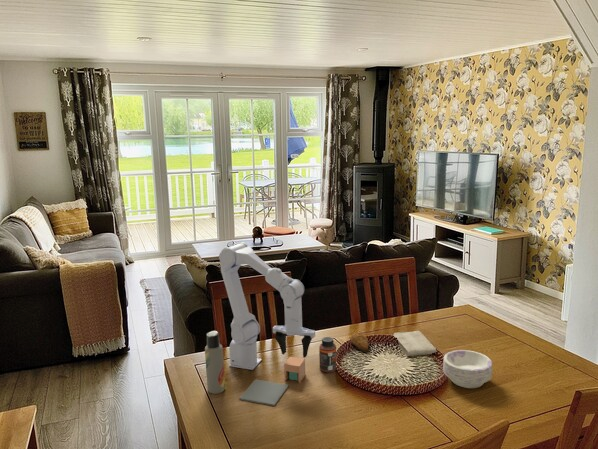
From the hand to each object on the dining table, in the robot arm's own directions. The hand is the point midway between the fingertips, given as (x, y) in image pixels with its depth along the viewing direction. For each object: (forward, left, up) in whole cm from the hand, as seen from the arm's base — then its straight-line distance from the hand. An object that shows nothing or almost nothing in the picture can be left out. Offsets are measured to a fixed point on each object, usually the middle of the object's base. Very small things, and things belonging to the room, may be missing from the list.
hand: (294, 354), depth 164 cm
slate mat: (-6, -12, -8) cm, 16 cm away
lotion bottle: (-22, -15, -9) cm, 28 cm away
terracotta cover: (0, 0, -8) cm, 9 cm away
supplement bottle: (+9, +9, -9) cm, 15 cm away
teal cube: (0, 0, -9) cm, 9 cm away
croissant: (+15, +31, -9) cm, 36 cm away
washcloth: (+35, +37, -9) cm, 52 cm away
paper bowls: (+55, +15, -9) cm, 58 cm away
